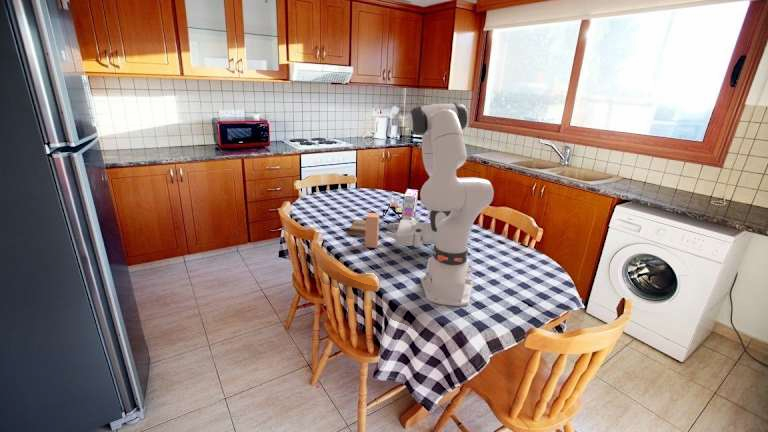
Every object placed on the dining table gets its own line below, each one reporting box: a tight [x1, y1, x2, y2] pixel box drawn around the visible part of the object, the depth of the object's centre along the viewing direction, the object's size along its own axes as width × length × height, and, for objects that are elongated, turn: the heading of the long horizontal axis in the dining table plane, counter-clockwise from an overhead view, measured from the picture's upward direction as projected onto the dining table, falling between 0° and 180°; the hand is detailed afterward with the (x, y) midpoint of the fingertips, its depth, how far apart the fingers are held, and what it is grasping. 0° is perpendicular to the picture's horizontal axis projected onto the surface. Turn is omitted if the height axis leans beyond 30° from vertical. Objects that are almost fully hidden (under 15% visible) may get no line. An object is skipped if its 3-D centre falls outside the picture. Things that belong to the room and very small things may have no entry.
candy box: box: [401, 188, 419, 220], centre depth 191 cm, size 14×6×16 cm, turn 168°
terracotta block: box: [364, 212, 380, 249], centre depth 163 cm, size 5×5×14 cm
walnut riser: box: [348, 219, 366, 237], centre depth 179 cm, size 12×12×3 cm
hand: (387, 229), depth 162 cm, fingers open, 8 cm apart
